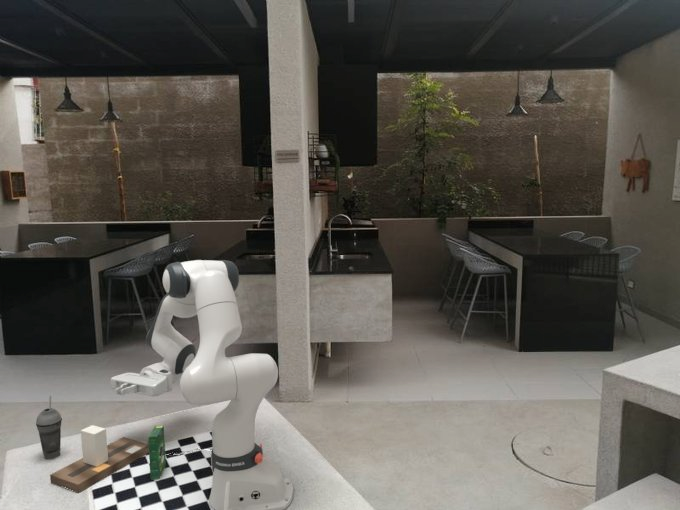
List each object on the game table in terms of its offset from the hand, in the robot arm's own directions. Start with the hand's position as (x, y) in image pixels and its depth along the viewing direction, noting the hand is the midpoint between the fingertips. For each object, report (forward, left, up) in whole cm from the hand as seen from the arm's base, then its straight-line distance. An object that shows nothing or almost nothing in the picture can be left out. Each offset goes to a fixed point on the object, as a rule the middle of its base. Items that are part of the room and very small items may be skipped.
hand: (118, 392), depth 166 cm
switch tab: (+5, +8, -18) cm, 21 cm away
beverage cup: (+23, -2, -21) cm, 31 cm away
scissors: (-24, -2, -22) cm, 32 cm away
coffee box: (-14, +11, -21) cm, 28 cm away
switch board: (+4, +6, -21) cm, 22 cm away
